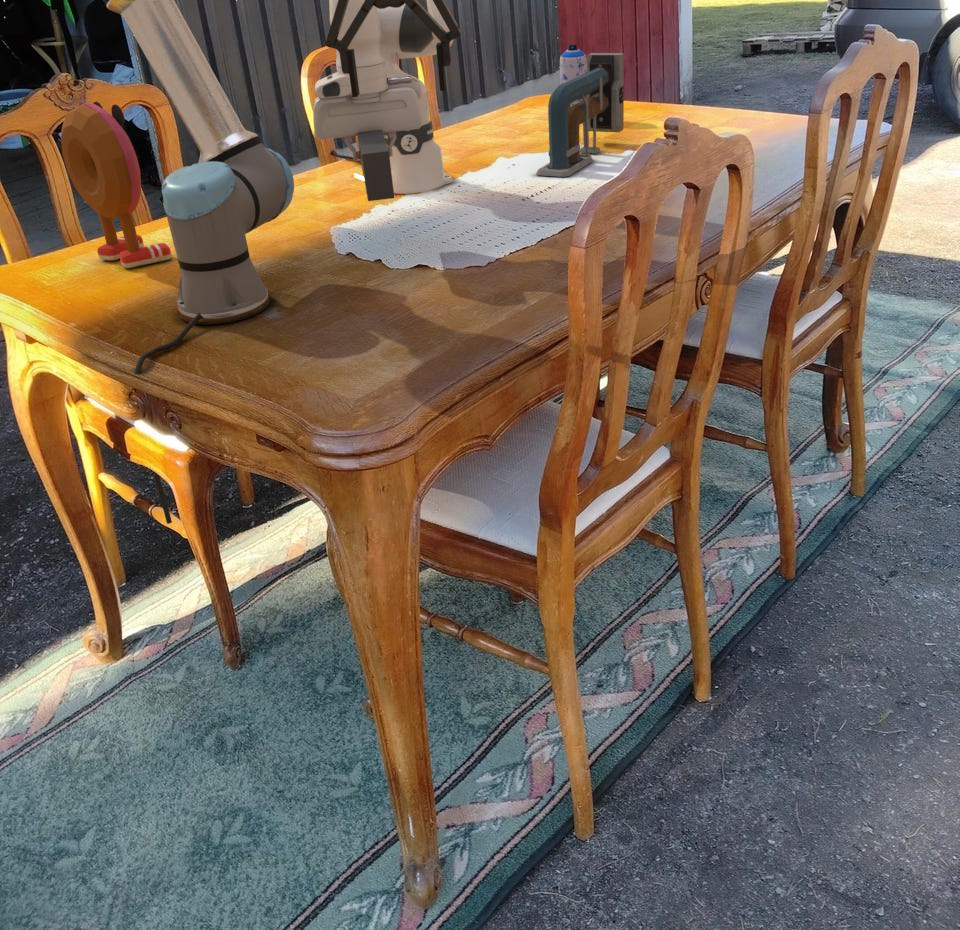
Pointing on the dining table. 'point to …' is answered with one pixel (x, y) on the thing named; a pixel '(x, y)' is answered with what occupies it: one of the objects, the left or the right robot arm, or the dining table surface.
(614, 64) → the clamp
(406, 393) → the dining table surface
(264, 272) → the dining table surface
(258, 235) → the dining table surface
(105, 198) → the toy
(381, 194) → the bar
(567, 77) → the aerosol can
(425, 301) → the dining table surface
